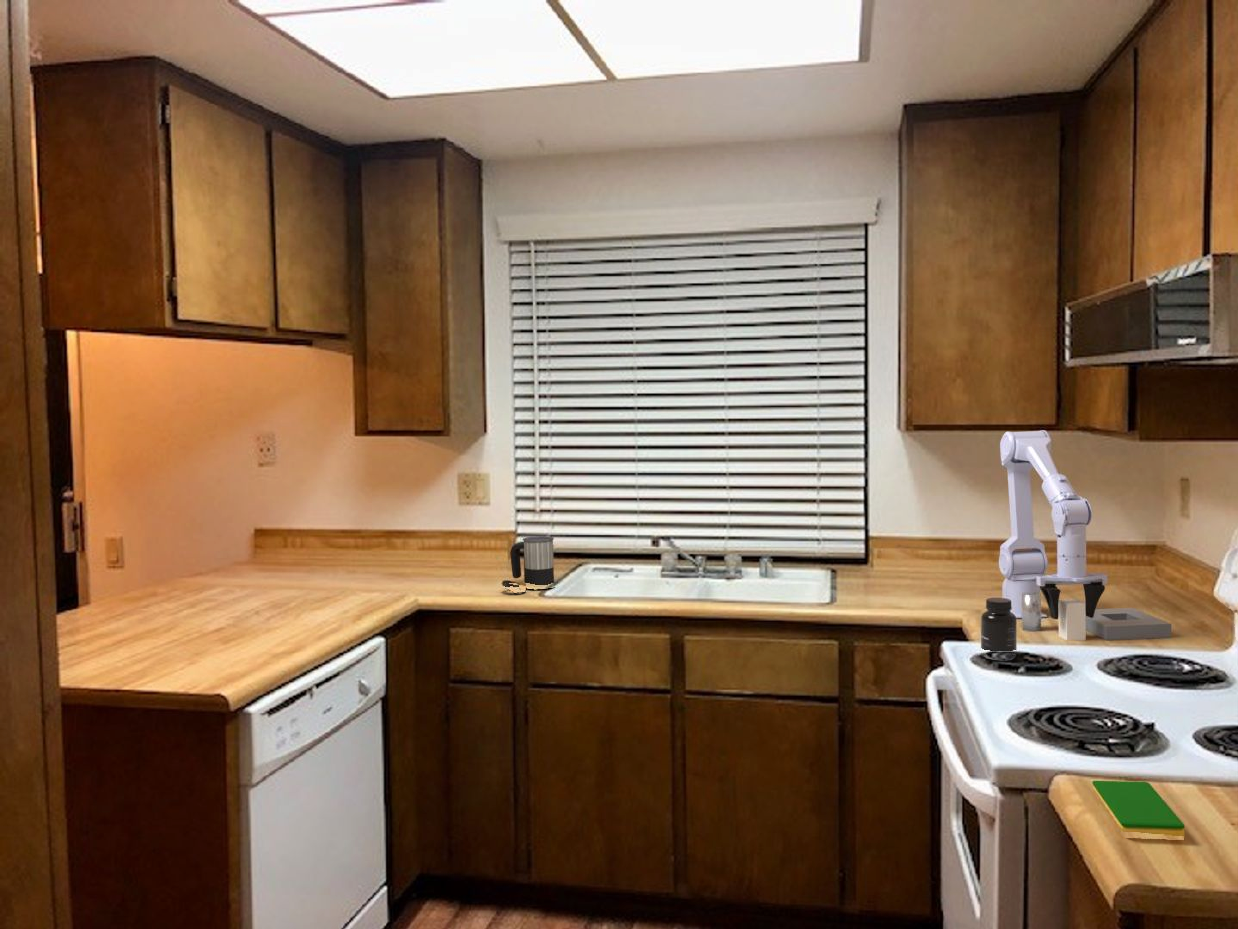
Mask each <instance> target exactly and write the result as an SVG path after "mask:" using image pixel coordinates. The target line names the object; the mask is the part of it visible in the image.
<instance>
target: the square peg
mask: <svg viewBox="0 0 1238 929" xmlns="http://www.w3.org/2000/svg"><path fill="white" fill-rule="evenodd" d="M1058 611H1059V616H1058V637H1059V638H1061V639H1063V640H1065V641H1066V640H1075V641H1086V635H1087V634H1086V631H1087V630H1086V622H1085V602H1084V601H1082V600H1079V599H1077V598H1076V599H1059V603H1058Z"/></svg>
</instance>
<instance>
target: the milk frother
mask: <svg viewBox="0 0 1238 929" xmlns="http://www.w3.org/2000/svg"><path fill="white" fill-rule="evenodd" d="M554 539H555V538H554V537H553V536H547V535H546V536H544V535H543V536H542V535H541V536H540V535H539V536H537V535H536V536H526V537H524V538H522V541H519V542H516V543H514V544H513V545H512V547H511V549H510V552H509V554H510V564H511V565H510V566H511V573H512V578H513V579H519V578H521V577H522V567H521V564H522V563H521V553H520V552H521V550H523V580H524V582H525V583H530V584H535V585H548V584H551V583H555V573H554V571H555V570H554V569H555V566H554V562H555V561H554ZM509 583H517V582H516V581H512V580H506V579H504V580H502V581H501V585H502V587H503V586H505V587H510V586H513V587H519V585H513V584H509ZM525 583H524V584H525Z"/></svg>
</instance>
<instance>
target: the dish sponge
mask: <svg viewBox="0 0 1238 929" xmlns="http://www.w3.org/2000/svg"><path fill="white" fill-rule="evenodd" d="M1091 783H1092V790H1093V789H1094V790H1095V791H1096V793H1097V794H1098V796H1099V797H1100V799H1101V801H1102V802H1103V803H1104V805H1105V807H1106V808H1107V809H1108V810H1109V812H1110V814H1111V815H1112V816H1113V818H1114V820H1115V821H1116V822H1117V824H1118V826H1119V827H1120V828H1121V830H1122V831H1123V832H1140V833H1149V834H1150V833H1151V834H1164V835H1172V836H1184V837H1185V824H1184V823H1183V822H1182V820H1181V819H1180V818H1179V817H1178V815H1176V813H1175V812H1174V811H1173V810H1172V808H1171V807H1170V806H1169V805H1168V804H1167V802H1165V800H1164V799H1163V797H1161V795H1160V794H1159V793H1158V792H1157V790H1156V789H1155V788H1154V787H1153V786H1152V785H1151V783H1149V782H1148V781H1126V780H1124V781H1122V780H1093V781H1092V782H1091Z"/></svg>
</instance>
